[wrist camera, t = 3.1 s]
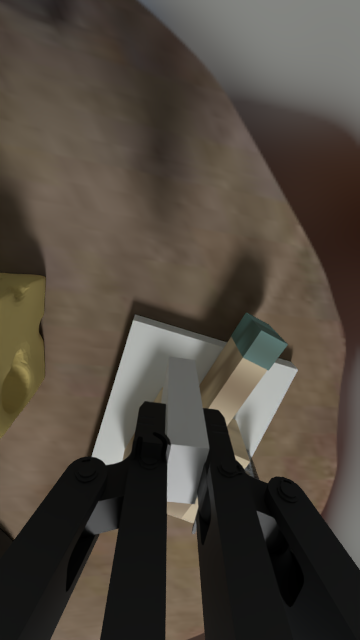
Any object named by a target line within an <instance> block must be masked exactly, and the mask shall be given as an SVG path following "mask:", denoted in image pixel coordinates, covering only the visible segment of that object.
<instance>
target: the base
mask: <svg viewBox="0 0 360 640" xmlns="http://www.w3.org/2000/svg"><path fill="white" fill-rule="evenodd" d="M226 344H227V342H224V341H221V340H218V339H214V338H211V337H208V336H205V335H201V334H198V333H195V332H191V331H188V330H185V329H182V328H178V327H175V326H172V325H168V324H165V323H162V322H159V321H155V320H152V319H149V318H145V317H142V316H139V315H136V314H135V316H134V319H133V323H132V326H131V329H130V332H129V336H128V339H127V342H126V346H125V349H124V352H123V355H122V359H121V362H120V365H119V368H118V372H117V375H116V378H115V382H114V385H113V388H112V391H111V395H110V398H109V401H108V404H107V408H106V411H105V414H104V418H103V421H102V424H101V427H100V431H99V434H98V437H97V440H96V444H95V447H94V450H93V454H92V457H96V458H98V459H100V460H102V461H103V462H104V463H105V465H110V464H115V463H118V462H121V461H123V455H124V450H125V448H126V446H127V445H128V443H129V441H130V440H131V438H132V436H133V435H134V433H135V430H136V424H137V418H138V412H139V407H140V406H141V405H142V404H143V403H144V401H148V402H154V400H155V399H156V397H157V395H158V394H159V392H160V390H161V389H162V387H163V386H164V381H165V375H166V370H167V364H168V359H169V356H170V357H177V358H183V359H190V360H195V363H196V369H197V375H198V382H199V385H200V384H201V382H202V381H203V379H204V377H205V376H206V374H207V373H208V371H209V370H210V368H211V367H212V365H213V364H214V362H215V361H216V359H217V357H218V356H219V354H220V353H221V351H222V350H223V348H224V347H225V345H226ZM297 371H298V369H297V368H296V367H295V366H294V364H293V363H292V362H290V361H287V360H283V359H280V358H278V359H277V360H276V361H275V363H274V364H273V365H272V367H271V368H270V370H269V371H268V370H267V371H266V373H265V374H264V376H263V377H262V378H261V380H260V381H259V383H258V384H257V385H256V387H255V388H254V389H253V391H252V392H251V394H250V395H249V396H248V398H247V399H246V401H245V402H244V403H243V405H242V406H241V407H240V409H239V410H238V412H237V413H236V414H235V416H234V417H233V419H235V420H236V421H237V424H238V427H239V430H240V433H241V436H242V439H243V442H244V445H245V447H246V449H247V450H249V452H250V455H251V457H252V456H253V454H254V452H255V450H256V448H257V446H258V444H259V442H260V440H261V439H262V437H263V435H264V433H265V431H266V429H267V427H268V425H269V424H270V422H271V420H272V418H273V416H274V414H275V412H276V410H277V408H278V407H279V405H280V403H281V401H282V399H283V397H284V395H285V393H286V392H287V390H288V388H289V386H290V384H291V382H292V380H293V378H294V376H295V375H296V373H297ZM197 497H198V496H197ZM176 503H177V502H176Z"/></svg>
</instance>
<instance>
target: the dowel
mask: <svg viewBox="0 0 360 640" xmlns="http://www.w3.org/2000/svg"><path fill="white" fill-rule="evenodd" d="M246 450H247V449H246ZM247 453H248V456H249V459H250V463H249V464H248V465H247V467H246V468H245V469H244V470H245V472H246V474H248V475H249V476H251V477H253V478H255V479H258V480H259V477H258V474H257V472H256V469H255V466H254V463H253V460H252V457H251V455H250V452H249V450H247Z"/></svg>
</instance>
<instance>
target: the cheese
mask: <svg viewBox="0 0 360 640" xmlns="http://www.w3.org/2000/svg"><path fill="white" fill-rule="evenodd" d="M45 287H46V277H45V276H41V275H33V274H9V273H0V439H1V438H2V436H3V435H4V434H5V433H6V431H7V430H8V428H9V427H10V426H11V425H12V423H13V422H14V420H15V419H16V418H17V416H18V415H19V414H20V413H21V411H22V410H23V409H24V407H25V406H26V405H27V404H28V402H29V401H30V400H31V398H32V397H33V396H34V394H35V393H36V391H37V390H38V388H39V386H40V385H41V383H42V381H43V380H44V378H45V359H44V342H43V339H42V337H41V335H40V334H39V324H40V321H41V319H42V317H43V315H44V300H45Z"/></svg>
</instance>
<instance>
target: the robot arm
mask: <svg viewBox="0 0 360 640" xmlns="http://www.w3.org/2000/svg"><path fill="white" fill-rule="evenodd" d="M228 433H229V432H228V429H227V425H226V421H225V417H224V416H223V415H222V414H221V412H220V411H219V410H216V409H208V408H203V406H202V400H201V394H200V388H199V382H198V375H197V369H196V363H195V360H190V359H183V358H177V357H170V356H169V359H168V364H167V370H166V375H165V381H164V386H163V392H162V399H161V403H156V402H148V401H144V403H143V404H142V405H141V406H140V407H139V412H138V418H137V424H136V430H135V436H134V440H133V444H132V451H131V453H130V455H129V456H128V457H127V458H126V459H124V460H123V461H121V462H118V463H115V464H110V465H105V463H104V462H103V461H102V460H100V459H98V458H96V457H83V458H80V459H77V460H75V461H74V462H73V463H71V464H70V465H69V466H68V468H67V469H66V470H65V472H64V473H63V474H62V476H61V477H60V478H59V480H58V481H57V483H56V484H55V485H54V487H53V488H52V489H51V491H50V492H49V493H48V495H47V496H46V497H45V499H44V500H43V502H42V503H41V504H40V506H39V507H38V508H37V510H36V511H35V512H34V514H33V515H32V516H31V518H30V519H29V521H28V522H27V523H26V525H25V526H24V527H23V529H22V530H21V531H20V533H19V534H18V536H17V537H16V538H15V540H14V541H12V540H11V539H10V538H9V537H8V536H7V535H6V534H5V533H4V532H3V531H1V530H0V640H50V639H51V637H52V635H53V632H54V630H55V628H56V626H57V624H58V622H59V620H60V617H61V615H62V613H63V611H64V609H65V607H66V605H67V603H68V600H69V598H70V596H71V594H72V592H73V590H74V588H75V586H76V583H77V581H78V579H79V577H80V575H81V573H82V571H83V568H84V566H85V564H86V562H87V560H88V558H89V556H90V554H91V551H92V549H93V547H94V545H95V543H96V541H97V539H98V537H99V534H100V533H103V532H106V531H110V530H114V529H118V528H119V530H118V536H117V542H116V548H115V554H114V560H113V566H112V572H111V578H110V584H109V590H108V596H107V602H106V608H105V614H104V620H103V626H102V632H101V638H100V640H165V618H166V541H167V502H177V503H187V504H195V502H196V498H197V496H198V510H197V513H196V517H195V521H194V524H193V529H192V533H193V534H195V532H196V528H197V540H198V553H199V566H200V579H201V592H202V604H203V617H204V630H205V640H360V570H359V568H358V567H357V565H356V564H355V563H354V561H353V560H352V558H351V557H350V556H349V554H348V553H347V551H346V550H345V549H344V547H343V546H342V544H341V543H340V542H339V540H338V539H337V538H336V536H335V535H334V533H333V532H332V530H331V529H330V528H329V526H328V525H327V523H326V522H325V521H324V519H323V518H322V516H321V515H320V514H319V512H318V511H317V509H316V508H315V507H314V505H313V504H312V502H311V501H310V500H309V498H308V497H307V495H306V494H305V493H304V491H303V490H302V489H301V488H300V487H299V486H298V485H297V484H296V483H294V482H293V481H292V480H290V479H287V478H284V477H274V478H271V480H270V481H269V483H265V482H263V481H260V480H258V479H255V478H253V477H251V476H249V475H248V474H246V472H245V470H244V468H243V466H242V465H241V464H240V463H239V462H238V461H237V460H236V459H235V455H234V451H233V447H232V444H231V440H230V436H229V434H228Z"/></svg>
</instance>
